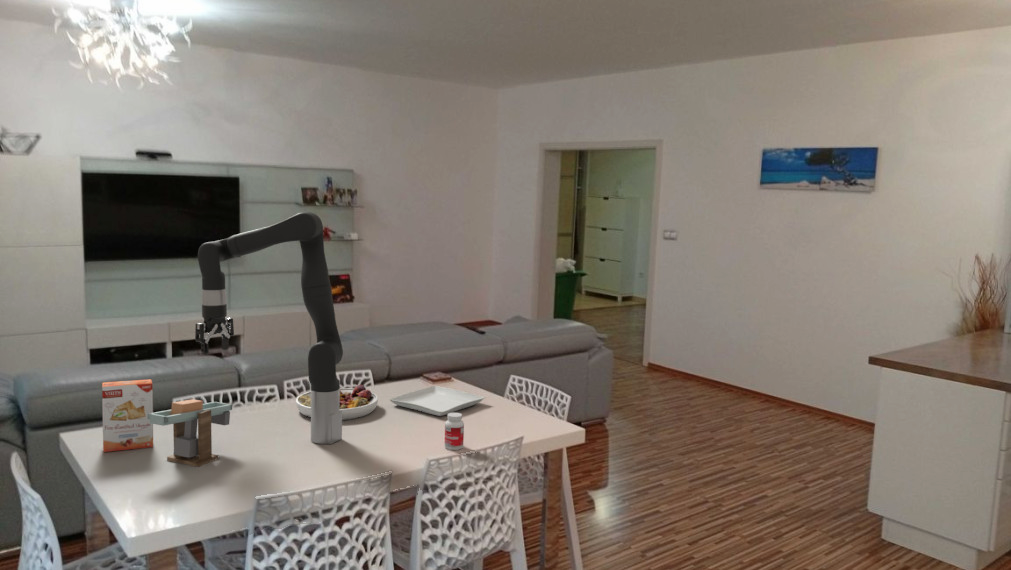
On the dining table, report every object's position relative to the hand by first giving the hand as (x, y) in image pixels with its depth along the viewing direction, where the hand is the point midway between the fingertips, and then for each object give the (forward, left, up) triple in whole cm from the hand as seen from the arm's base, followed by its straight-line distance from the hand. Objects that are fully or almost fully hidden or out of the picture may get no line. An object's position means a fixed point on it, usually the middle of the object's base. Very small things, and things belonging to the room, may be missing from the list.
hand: (215, 351), depth 241 cm
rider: (-10, +23, -14) cm, 28 cm away
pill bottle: (-75, -25, -28) cm, 84 cm away
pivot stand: (-10, +21, -28) cm, 36 cm away
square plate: (-48, -66, -29) cm, 87 cm away
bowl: (-18, -42, -29) cm, 54 cm away
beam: (-10, +22, -26) cm, 36 cm away
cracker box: (+15, +22, -28) cm, 39 cm away
